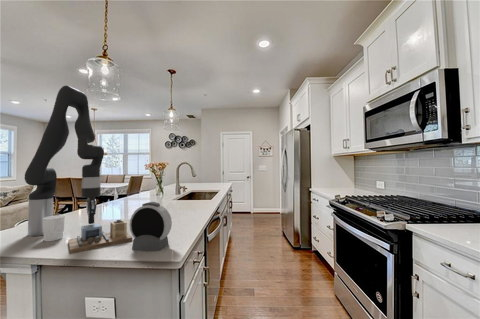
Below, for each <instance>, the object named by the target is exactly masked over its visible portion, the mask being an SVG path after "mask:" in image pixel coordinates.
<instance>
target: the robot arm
mask: <svg viewBox="0 0 480 319" xmlns="http://www.w3.org/2000/svg"><path fill="white" fill-rule="evenodd" d="M88 100H89V99H88V97H87V95H86V93H84V92H83V91H81V90H79V89H77V88H74V87H72V86H70V85H63V86H61V88H60V89H59V90H58V92H57V94H56V98H55V102H54V105H53V109H52V112H51V116H50V118H49V120H48V122H47V125H46V127H45V129H44V132H43V134H42V136H41V140H40V142H39V144H38V147H37V149H36V152H35V154H34V156H33V158H32V160H31V161H30V163H29V165H28V166H27V168H26V170H25V173H24V181H25V183H26V184H27V185H29V186H36V188H35V189H34V191H32V192H30V193H29V194H28V209H27V210H28V212H27V213H28V214H27V215H28V216H27V218H28V219H27V236H29V237H37V236H38V237H39V236H44V235H43V218H44V217H49V216H54V195H55V194H56V189H57V188H56V187H57V172H56V170H55V169H54V168H53V167H51V166H49V163H50V162H51V160H52V159H53V158H54V157H55V156H56V155H57V154H58V153H59V152H60V151H61V150H62V149H63V147H65V145H66V143H67V140H68V137H69V135H70V129H69V125H68V121H67V111H68V108H69V107H71V108H74V109H75V111H76V112H77V118H76V120H75V122H74V131H75V134H76V138H77V149H76V150H77V154H76V155H77V156H78V157H79V158H80V159H82V160H92V161H91V162H90V163H89V164H84V165H83V166H82V168H81V187H80V188H81V193H80V194H81V198H82V199H83V198H87V199H86V201H85V206H86V213H87V216H88V217H87V220H88V222H87V223H88V225H93V224H95V215H96V211H97V200H96V198H98V197H100V196H101V189H102V188H101V185H102V184H101V165H102V163H103V159H104V155H105V151H104V147H102V146H101V145H99V144H91V143H93V142H95V140H96V136H95V133H94V130H93V127H92V123H91V117H90V108H89V107H90V106H89V101H88Z"/></svg>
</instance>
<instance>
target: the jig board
mask: <svg viewBox="0 0 480 319" xmlns="http://www.w3.org/2000/svg"><path fill="white" fill-rule="evenodd" d="M121 220H122V219H116V221H117V222H116V223H121ZM67 242H68V243H67V244H68V249H69V254H74V253H78V252H84V251H89V250H93V249H94V250H95V249H99V248H103V247H109V246H113V245H118V244H123V243H128V242H133V236H132V235H130V234H129V233H128V232H127V236H121V237H116V238H112V237H111V235H110V232H106V233H105V232H104V231H102V238H100V237H99V236H98V235H96V236H90V237H85V241H82V238H81V236H80V235H77V236H76V237H74V238H70V239H68V241H67Z"/></svg>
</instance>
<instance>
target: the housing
mask: <svg viewBox="0 0 480 319" xmlns="http://www.w3.org/2000/svg"><path fill="white" fill-rule="evenodd" d="M80 230H81V234H80V235H81V236H80V238H82V241H85V237H90V236H96V235H98V236H99V237H100V238H102V232H103V226H102V224H101V223H93V224H88V225H82V226H81V229H80Z"/></svg>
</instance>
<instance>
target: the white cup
mask: <svg viewBox="0 0 480 319" xmlns="http://www.w3.org/2000/svg"><path fill="white" fill-rule="evenodd" d="M65 216H66V215H64V214H61V215H60V214H59V215H57V214H56V215H53V216H49V217H44V218H43V235H42V236H43V241H44V242H53V241H58V240H62V239H63V238H64V231H65V219H66V218H65Z"/></svg>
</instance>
